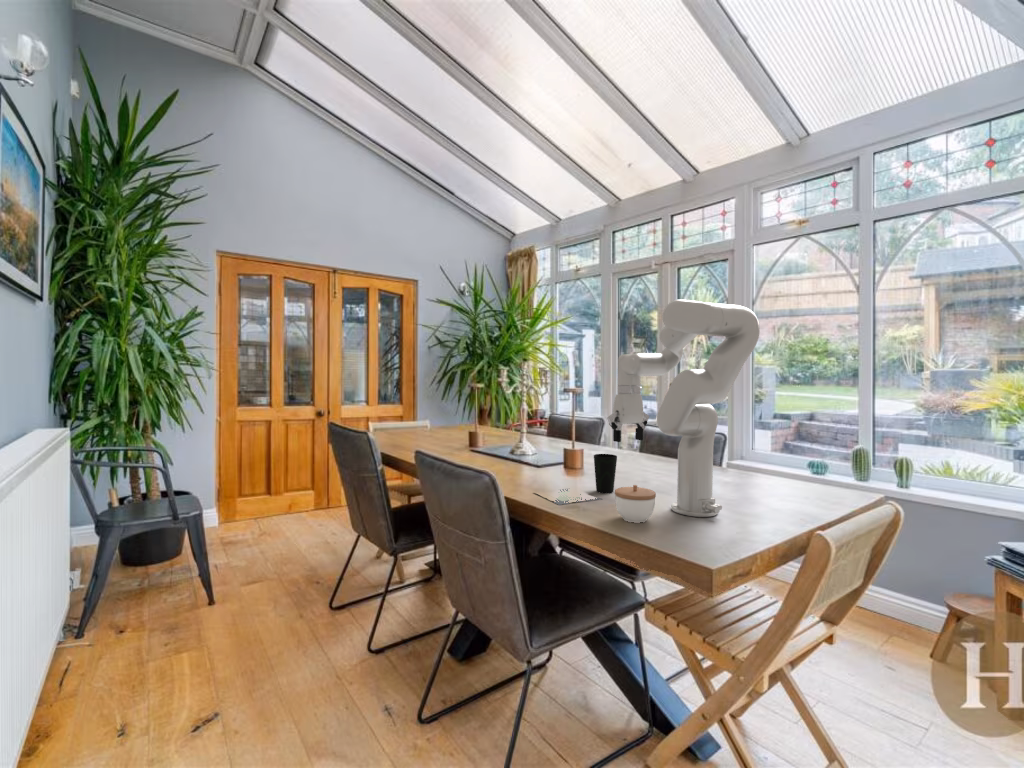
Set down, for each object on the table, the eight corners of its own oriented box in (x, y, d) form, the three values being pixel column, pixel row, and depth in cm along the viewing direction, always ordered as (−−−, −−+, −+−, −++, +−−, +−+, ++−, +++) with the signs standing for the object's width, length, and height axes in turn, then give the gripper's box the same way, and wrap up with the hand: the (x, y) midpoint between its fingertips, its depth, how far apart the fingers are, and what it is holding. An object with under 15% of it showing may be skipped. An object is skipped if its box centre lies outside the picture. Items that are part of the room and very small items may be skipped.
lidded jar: (632, 528, 129) (633, 491, 128) (606, 516, 138) (606, 483, 138) (663, 522, 134) (664, 487, 133) (636, 512, 143) (637, 479, 143)
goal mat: (602, 499, 157) (602, 498, 157) (558, 505, 150) (558, 504, 150) (573, 488, 171) (573, 487, 171) (532, 493, 164) (532, 492, 164)
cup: (618, 494, 163) (619, 457, 163) (595, 494, 163) (595, 457, 163) (614, 488, 171) (614, 453, 171) (591, 488, 171) (592, 453, 171)
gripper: (641, 389, 178) (640, 438, 178) (601, 390, 170) (601, 440, 170) (656, 390, 171) (655, 440, 172) (615, 391, 163) (615, 443, 164)
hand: (628, 440), depth 171 cm, fingers open, 9 cm apart
